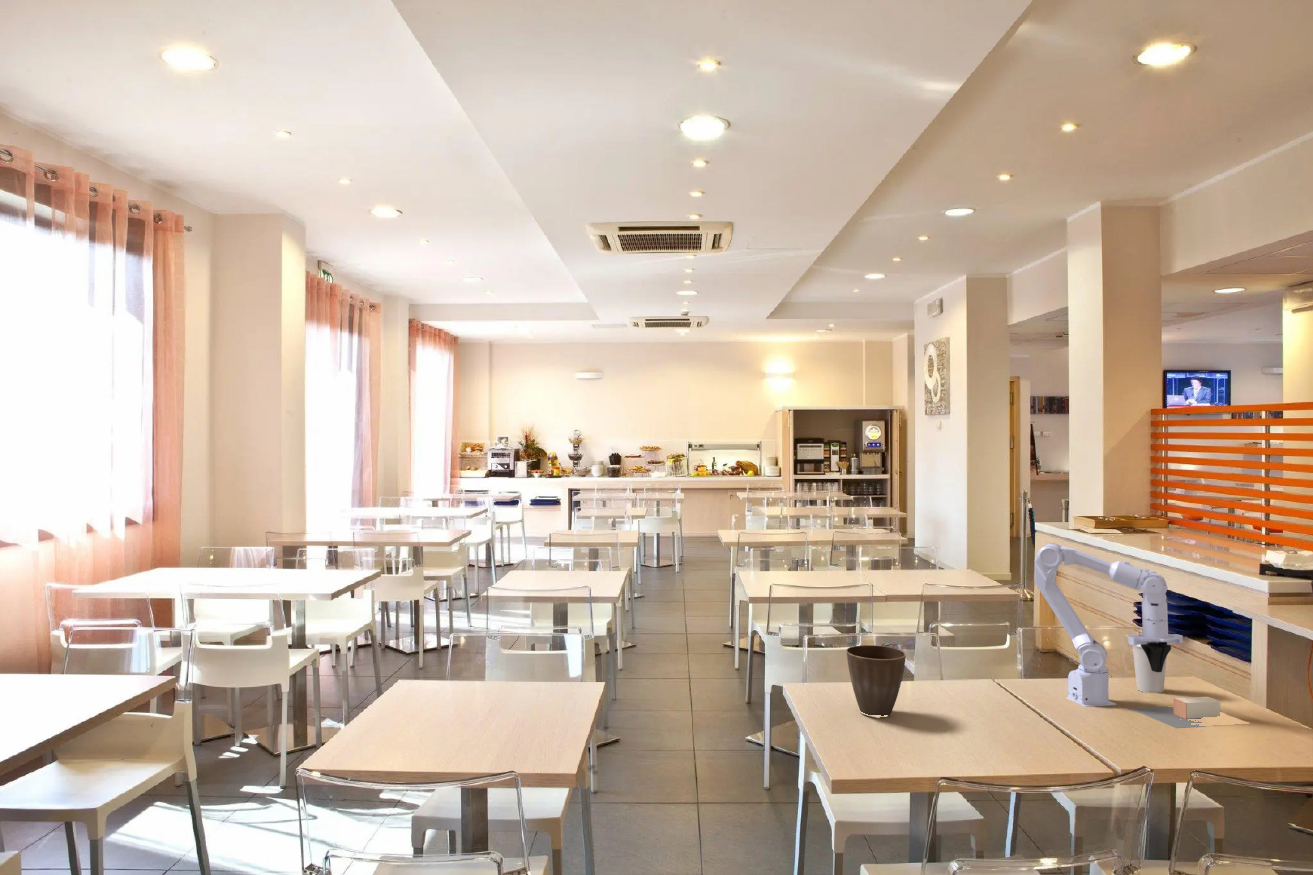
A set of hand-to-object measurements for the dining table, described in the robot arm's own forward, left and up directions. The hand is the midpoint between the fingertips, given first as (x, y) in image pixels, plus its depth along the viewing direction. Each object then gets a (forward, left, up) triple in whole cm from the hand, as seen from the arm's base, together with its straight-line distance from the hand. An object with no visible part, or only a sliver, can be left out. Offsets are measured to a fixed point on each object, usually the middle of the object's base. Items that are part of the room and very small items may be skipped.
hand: (1156, 671), depth 216 cm
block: (+2, -6, -8) cm, 10 cm away
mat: (+5, -6, -10) cm, 13 cm away
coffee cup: (+13, +17, -11) cm, 24 cm away
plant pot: (-74, +8, -11) cm, 76 cm away
